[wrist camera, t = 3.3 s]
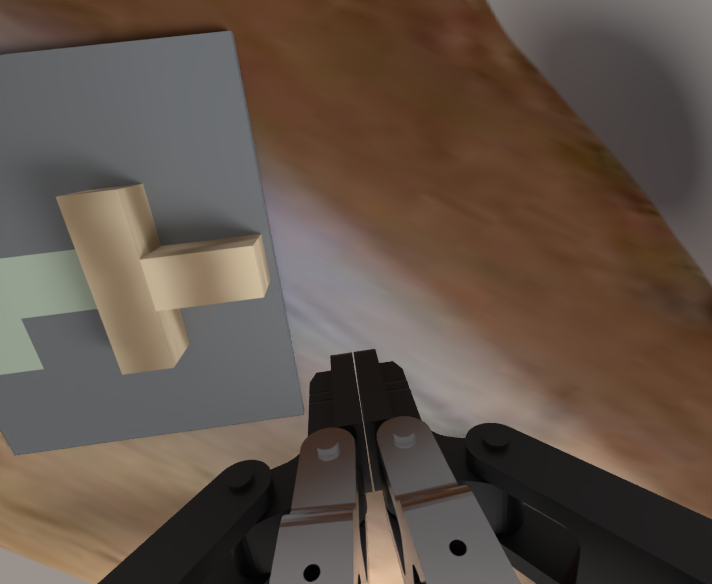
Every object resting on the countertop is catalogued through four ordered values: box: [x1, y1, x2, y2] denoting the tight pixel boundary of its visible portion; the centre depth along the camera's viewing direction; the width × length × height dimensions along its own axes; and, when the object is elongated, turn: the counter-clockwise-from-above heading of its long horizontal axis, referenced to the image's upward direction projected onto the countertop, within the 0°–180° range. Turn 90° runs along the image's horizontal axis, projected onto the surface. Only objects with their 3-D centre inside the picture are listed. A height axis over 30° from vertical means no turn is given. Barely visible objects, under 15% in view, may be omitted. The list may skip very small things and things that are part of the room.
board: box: [0, 31, 304, 455], centre depth 28 cm, size 24×28×1 cm
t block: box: [56, 184, 270, 375], centre depth 27 cm, size 10×12×4 cm
